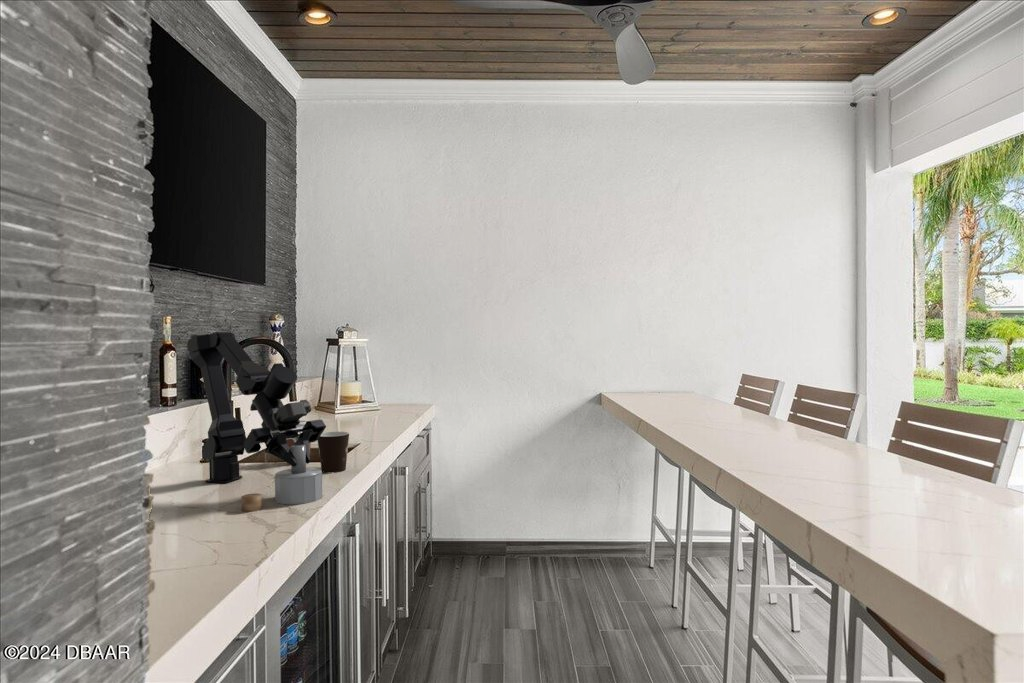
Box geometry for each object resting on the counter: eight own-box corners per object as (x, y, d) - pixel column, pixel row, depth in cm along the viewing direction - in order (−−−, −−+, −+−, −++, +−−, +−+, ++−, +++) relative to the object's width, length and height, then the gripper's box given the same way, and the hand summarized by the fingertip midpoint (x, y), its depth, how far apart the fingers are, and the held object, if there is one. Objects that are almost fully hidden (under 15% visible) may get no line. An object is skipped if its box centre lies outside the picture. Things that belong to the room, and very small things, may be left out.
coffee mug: (340, 474, 167) (340, 436, 167) (311, 473, 169) (310, 436, 168) (359, 464, 178) (359, 430, 178) (332, 464, 180) (331, 429, 180)
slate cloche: (266, 503, 139) (265, 449, 139) (292, 491, 148) (291, 441, 148) (306, 505, 136) (305, 450, 136) (330, 493, 146) (329, 442, 146)
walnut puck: (237, 511, 132) (237, 497, 132) (249, 506, 136) (249, 493, 136) (253, 512, 131) (253, 498, 131) (265, 507, 135) (265, 493, 135)
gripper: (249, 392, 137) (279, 447, 130) (320, 386, 152) (351, 435, 145) (230, 425, 142) (259, 480, 135) (301, 416, 157) (330, 465, 150)
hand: (302, 463), depth 141 cm, fingers closed on slate cloche, 3 cm apart
